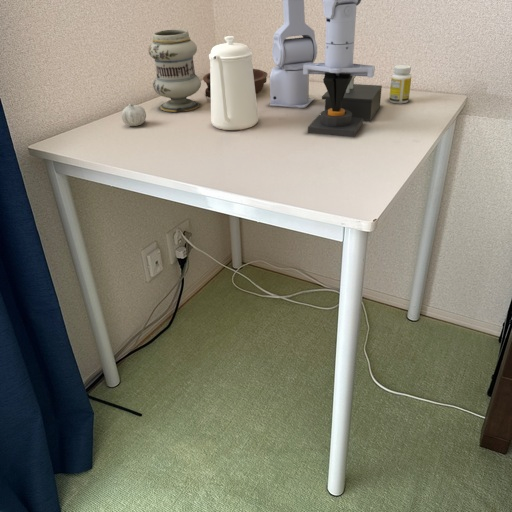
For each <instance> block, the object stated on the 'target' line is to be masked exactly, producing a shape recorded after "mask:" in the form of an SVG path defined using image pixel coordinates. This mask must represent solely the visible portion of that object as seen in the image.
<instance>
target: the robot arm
mask: <svg viewBox="0 0 512 512" xmlns="http://www.w3.org/2000/svg"><path fill="white" fill-rule="evenodd" d="M321 1H322V5H323V17H324V18H325V46H324V62H315V61H316V59H317V57H318V44H317V41H316V36H315V35H316V34H315V30H314V29H313V28H312V27H310V25H308V24H307V23H306V19H305V18H306V17H305V0H282V10H283V11H282V12H283V13H282V14H283V24H282V25H281V26H280V27H279V28H278V29H277V30H275V32H274V33H273V35H272V38H273V39H272V49H271V53H272V60H273V62H274V65H276V66H273V67H272V69H271V71H270V75H269V95H270V97H269V98H270V100H269V101H270V103H269V106H271V107H282V108H283V107H284V108H298V109H305V108H307V107H308V106H309V105H310V104H311V103H312V102H313V101H314V98H313V97H309V95H310V93H309V91H310V75H322V76H323V75H324V76H323V79H322V81H323V84H324V86H325V88H326V92H327V91H328V93H329V96H330V100H331V105H332V111H336V112H339V111H340V109H341V105H342V101H343V97H344V94H345V92H346V89H347V87H348V85H349V83H350V81H351V79H352V77H353V76H356V77H366V78H369V79H370V78H372V79H373V78H374V77H375V71H376V65H371V64H370V65H368V64H362V63H361V64H360V63H354V52H355V36H356V21H357V20H356V19H357V7H358V6H359V5H360V4H361V3H362V0H321ZM289 37H290V38H289ZM291 37H292V38H291ZM293 37H294V38H293Z"/></svg>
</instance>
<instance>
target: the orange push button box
mask: <svg viewBox="0 0 512 512" xmlns="http://www.w3.org/2000/svg"><path fill="white" fill-rule="evenodd" d="M344 110H345V109H344ZM363 122H364V121H363V118H356V117H352V113H351V112H350V111H348V110H345V115H342V116H330V115H328V110H325V109H324V110H322V111H321V112H320V114H318V116H316V118H315V119H314V120H313V121H312V122H311V123H310V124H309V125H308V126H307V134H312V135H323V136H336V137H346V138H355V136H356V135H357V134H358V132H359V131H360V129H361V127H362V126H363Z"/></svg>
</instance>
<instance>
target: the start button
mask: <svg viewBox="0 0 512 512" xmlns="http://www.w3.org/2000/svg"><path fill="white" fill-rule="evenodd" d="M328 115H330V116H342V115H345V110H344V109H342V108H341V109H340V111H339V112H336V111H332V108H331V109H328Z"/></svg>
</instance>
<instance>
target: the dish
mask: <svg viewBox="0 0 512 512" xmlns="http://www.w3.org/2000/svg"><path fill="white" fill-rule="evenodd" d="M253 75H254V84H255V93H256V95H257V94H258V93H260V92H262V91H263V89H264V85H265V84H266V83H267V78H268V73H267V72H266V71H265V70H261V69H258V68H253ZM202 80H203V82H204V83H205V84H206V86H207V87H206V88H205V90H204V91H205V92H204V93H205V97H207V98H209V99H211V85H210V72H209V73H207V74H204V76H203V77H202Z"/></svg>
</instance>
